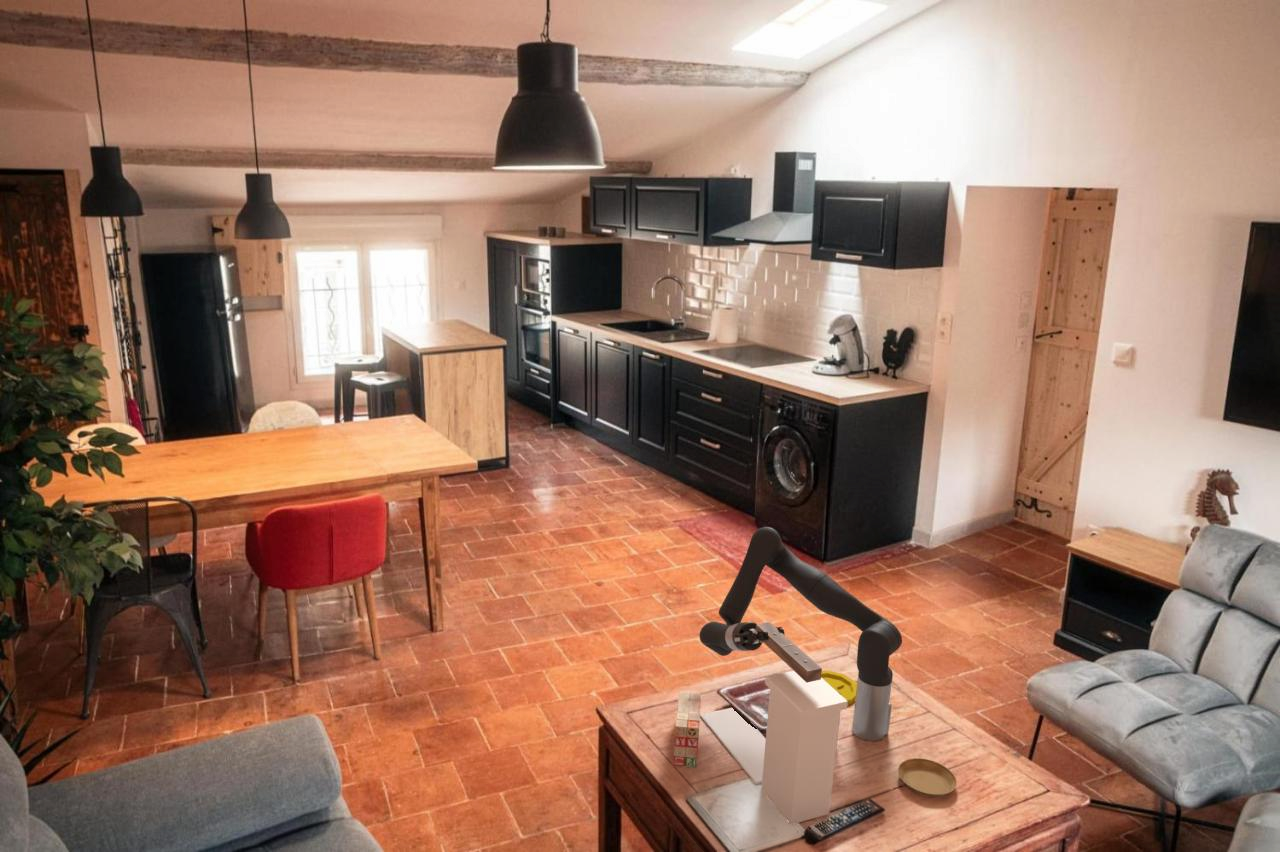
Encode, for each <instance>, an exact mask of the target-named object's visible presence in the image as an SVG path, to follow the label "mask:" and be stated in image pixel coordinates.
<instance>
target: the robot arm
mask: <svg viewBox="0 0 1280 852" xmlns="http://www.w3.org/2000/svg"><path fill="white" fill-rule="evenodd" d="M765 566H767V567H768V568H769V569H771V570H772V571H774V572H775V573H777V574H778V575H780V576H781V577H782V578H784V579H785V580H786V581H787V582H788V583H789V584H790V585H791V586H792V587H793V588H794V589H795V590H796V591H797V592H798V593H800V595H802V596H803V597H804V598H805V599H806V600H807V601H808V602H810V603H811V604H812V606H814V607H816V608H817V609H818V610H819V611H821V612H823V613H824V614H827V615H829V616H831V617H834V618H838V619H840V620H844V621H845V622H848V623H850V624H852V625H853V626H855V627H856V628H857V629H859V630H860V631H861V634H860V635H859V637H858V643H857V652H856V653H857V655H856V667H857V671H858V673H857V674H858V675H857V681H856V683H857V690H856V699H855V701H854V709H853V717H852V718H853V719H852V727H851V729H852V733H853V734H854V735H856V737H858V738H860V739H863V740H865V741H869V742H877V741H880V740H883V739H884V738H885V736H886V735H888V734H889V731H890V723H891V713H892V703H891V702H890V701H891V691H892V684H893V676H894V672H893V670H892V668H891V667H890V666H889V661H890V657H891V656H892V655H893V654H894V653H895V652H897V651H898V650H899V648H900V647H902V644H903V637H902V634H901V632H900V630H899V628H897V626H896V625H895V624H894V623H892V622H891V621H890V620H888V619H887V618H885V617H884V616H882V615H881V614H879V613H878V612H876V611H875V610H873V609H871V608H870V607H868V606H867V605H866V604H864V603H863V602H861V601H860V600H859V599H858V598H856V597H855V596H854V595H853V594H851V593H850V592H849V591H848V590H846V589H845V588H844V587H843V586H841V585H840V584H839V583H838V582H837V581H835V579H833V578H832V577H830V576H829V575H828V574H827V573H826V572H824V571H822V570H820V569H819V568H817V567H816V566H813V565H810V564H809V563H807V562H805V561H803V560H801V559H800V558H799V557H798V556H796V555H795V554H794V553H793V552H792V551H791V550H790V549H789V548H788V547H787V546H786V545H785V544H784V543H783V540H782V538H781V536H780V534H779V532H778V531H777V530H776V529H775V528H773V527H769V526H762V527H760V528H758V529H757V530H755V531H754V533H753V534H752V536H751V538H750V541H749V544H748V548H747V550H746V553H745V556H744V559H743V561H742V563H741V567H740V569H739V571H738V573H737V575H736V578H735V579H734V581H733V584H732V585H731V587H730V589H729V590H728V592H727V594H726V596H725V598H724V600H723V602H722V603H721V606H720V607H719V610H718V615H719V617H720V618H721V619H722V620H723V621H724V622H725V623H722V622H718V621H710V622H707V623H705V625H703V626H702V627H701V628H700V631H699V640H700V642H701V643H702V645H704V646H705V647H707V648H708V649H710V650H711V651H713V652H714V653H716V654H718V655H719V656H721V657H726V656H728V655H730V654H731V653H732V652H733V651H734V652H735V651H737V652H751V651H752V652H753V651H756V650H758V649H760V648H761V646H762V644H763V643H764V642H763V641H764V640H769V638H768V632H767V631H763V632H757V631H756V624H757V623H756V622H754V621H746V622H742V619H743V618H744V616H745V614H746V612H747V610H748V608H749V606H750V604H751V603H752V599H753V597H754V595H755V591H756V587H757V585H758V582H759V579H760V577H761V575H762V572H763V570H764V568H765ZM775 627H776V628H777V629H778V630H779V631H780V632H781V633H783V634H784V635H785V636H786V634H785V630H784V629H783V627H782V626H775Z"/></svg>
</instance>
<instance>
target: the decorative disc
mask: <svg viewBox="0 0 1280 852" xmlns="http://www.w3.org/2000/svg"><path fill="white" fill-rule="evenodd" d="M821 678H822V679H823V680H825V681H826V682H827V683H828V684H829V685H830V686H831V687H832V688H833V689H835V690H836V691H837V692H838V693H839V694H840V695H841V696H842V697H844V698H845V699H846V700H847V701H848V703H847V706H849V705H852V704H853V703H855V699H856V690H857V681H855V680H853V679H852V678H850V677H849V676H847V675H846V674H844V673H841V672H836V671H831V670H828V669H825V670H822V673H821Z"/></svg>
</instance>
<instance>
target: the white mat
mask: <svg viewBox="0 0 1280 852" xmlns="http://www.w3.org/2000/svg"><path fill="white" fill-rule="evenodd" d="M700 719H702V720H703V722H704V723H705V724H706V725H707V726H708V728H709V729H710V730H711V731H712V733H713V734H714V735H715V737H717V739H718V740H719V742H721V743H722V746H724V747H725V748H726V750H727V751H728V752H729V753H730V754H731V756H732V758H733V759H735V761H736V762H737V763H738V764H739V766H740V767H741V768H742V770H744V772H745V773H746V775H748V777H749V778H750V779H751V780H752V782H753V781H754V782H755V783H756V784H755V783H754V782H753V783H754V784H755V785H760V784H762V777H763V765H764V754H765V742H766V736H764V734H763V733H761V732H760V730H759V729H758V728H757V729H755V728H754V727H752V726H751V725H750V724H748V723H747V722H746V721H745V720H744V719H743V718H742V717H741V716H740V715H739V714H738V713H737V712H736V711H734V709H733V708H732V707H729V708H723V709H720V710H716V711H710V712H707V713H700Z"/></svg>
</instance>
